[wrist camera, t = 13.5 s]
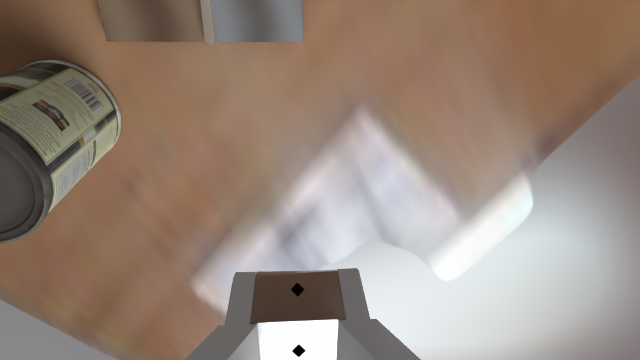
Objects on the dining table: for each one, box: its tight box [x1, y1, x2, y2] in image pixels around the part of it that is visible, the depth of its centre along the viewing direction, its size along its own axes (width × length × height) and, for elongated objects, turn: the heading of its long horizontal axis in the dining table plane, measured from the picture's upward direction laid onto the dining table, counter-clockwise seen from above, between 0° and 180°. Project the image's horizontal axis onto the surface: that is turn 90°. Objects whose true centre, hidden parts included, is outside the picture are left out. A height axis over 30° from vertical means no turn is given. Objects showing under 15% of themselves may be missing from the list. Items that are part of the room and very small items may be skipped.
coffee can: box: [0, 60, 121, 243], centre depth 32 cm, size 10×10×14 cm
